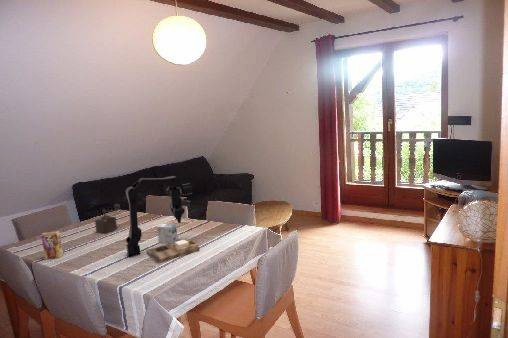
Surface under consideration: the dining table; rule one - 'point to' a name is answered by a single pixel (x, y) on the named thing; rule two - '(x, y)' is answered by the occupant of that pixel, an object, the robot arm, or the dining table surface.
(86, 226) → the dining table surface
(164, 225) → the light bulb box
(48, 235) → the candy box
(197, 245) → the cubby
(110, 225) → the brown box
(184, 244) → the cream block
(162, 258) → the deck
